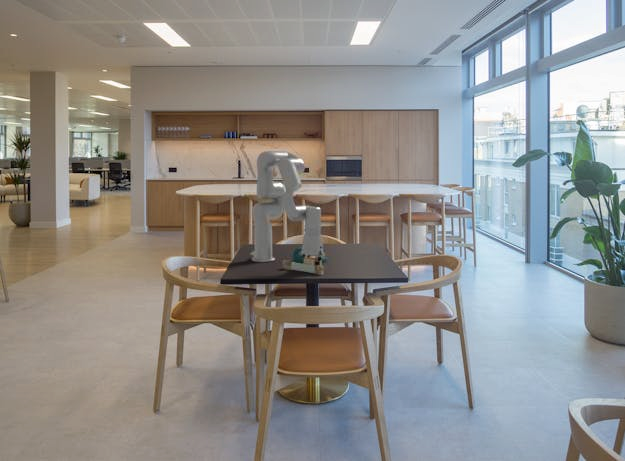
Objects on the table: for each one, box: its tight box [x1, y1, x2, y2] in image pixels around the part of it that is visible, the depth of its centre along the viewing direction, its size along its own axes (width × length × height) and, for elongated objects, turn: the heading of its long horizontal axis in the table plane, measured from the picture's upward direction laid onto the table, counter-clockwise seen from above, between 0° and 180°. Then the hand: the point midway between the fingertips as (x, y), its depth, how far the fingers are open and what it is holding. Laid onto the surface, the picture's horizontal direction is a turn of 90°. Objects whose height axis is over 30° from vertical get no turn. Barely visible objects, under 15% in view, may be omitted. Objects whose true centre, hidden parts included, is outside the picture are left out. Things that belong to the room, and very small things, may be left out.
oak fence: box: [282, 260, 325, 276], centre depth 285 cm, size 25×2×4 cm, turn 51°
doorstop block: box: [303, 256, 323, 266], centre depth 288 cm, size 5×8×6 cm, turn 141°
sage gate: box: [290, 261, 315, 274], centre depth 286 cm, size 15×2×4 cm, turn 51°
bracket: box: [292, 246, 328, 264], centre depth 313 cm, size 18×7×8 cm, turn 82°
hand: (312, 268), depth 288 cm, fingers closed on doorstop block, 5 cm apart
